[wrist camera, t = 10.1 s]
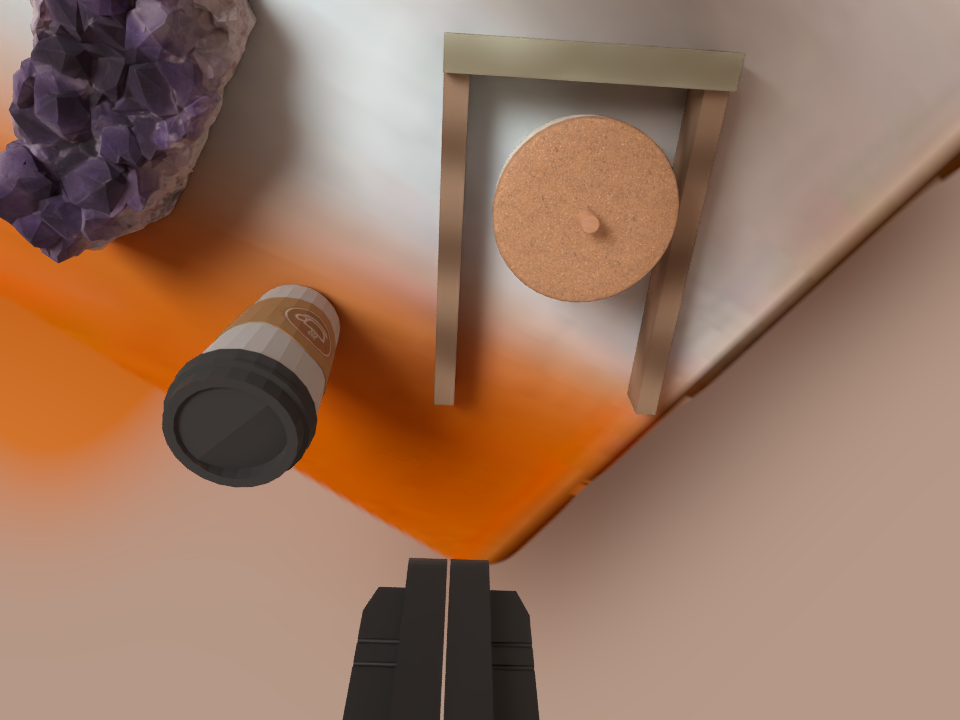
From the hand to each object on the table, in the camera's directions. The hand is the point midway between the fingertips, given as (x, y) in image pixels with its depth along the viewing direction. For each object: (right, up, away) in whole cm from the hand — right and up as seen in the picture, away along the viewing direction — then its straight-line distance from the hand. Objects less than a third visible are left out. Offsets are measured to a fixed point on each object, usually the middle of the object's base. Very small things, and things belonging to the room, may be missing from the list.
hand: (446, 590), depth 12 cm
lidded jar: (+7, +16, +31) cm, 35 cm away
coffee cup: (-13, +7, +35) cm, 38 cm away
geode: (-21, +21, +28) cm, 41 cm away
